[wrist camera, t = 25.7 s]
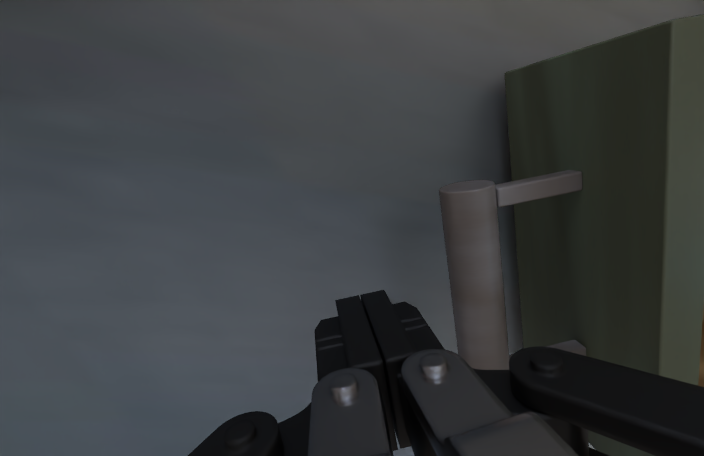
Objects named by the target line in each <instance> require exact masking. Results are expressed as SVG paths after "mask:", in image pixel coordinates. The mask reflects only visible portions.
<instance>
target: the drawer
mask: <svg viewBox="0 0 704 456" xmlns="http://www.w3.org/2000/svg"><path fill="white" fill-rule="evenodd" d="M505 88H506V102H507V117H508V131H509V146H510V160H511V175H512V182H507V183H502V184H497V185H495V183H494V182H493V181H489V180H472V181H463V182H457V183H452V184H449V185H446V186H443V187H441V188H440V189H439V196H440V205H441V213H442V221H443V230H444V238H445V247H446V255H447V263H448V272H449V280H450V289H451V297H452V305H453V314H454V322H455V331H456V339H457V347H458V355H460V356H461V357H462V358H463V359H464V360H465V361H466V362H467V363H468V364H469V366H470V367H471V368H474V369H480V370H509V360H510V358H511V356H512V355H513V354H512V355H509V350H508V337H507V325H506V313H505V300H504V288H503V275H502V263H501V251H500V238H499V226H498V213H497V207H504V206H509V205H514V218H515V232H516V247H517V261H518V276H519V290H520V305H521V319H522V334H523V348H528V347H535V346H544V347H552V348H557V349H561V350H565V351H569V352H572V353H576V354H580V355H584V356H588V357H591V358H595V359H599V360H603V361H606V362H610V363H614V364H618V365H622V366H625V367H629V368H633V369H637V370H641V371H644V372H648V373H652V374H656V375H660V376H663V377H667V378H671V379H675V380H679V381H682V382H686V383H690V384H694V385H698V386H701V387H704V14H702V15H696V16H690V17H685V18H679V19H673V20H669V21H666V22H663V23H660V24H657V25H654V26H651V27H647V28H644V29H641V30H638V31H635V32H632V33H628V34H625V35H622V36H619V37H616V38H613V39H609V40H606V41H603V42H600V43H597V44H594V45H590V46H587V47H584V48H581V49H578V50H575V51H571V52H568V53H565V54H562V55H559V56H556V57H552V58H549V59H546V60H543V61H540V62H537V63H533V64H530V65H527V66H524V67H521V68H518V69H515V70H511V71H508V72H506V73H505ZM588 438H589V443H590V444H591V445H592V446H593V447H594V448H595V449H596V450H597V451H599V452H602V453H604V454H606V455H609V456H655V455H652V454H650V453H647V452H644V451H642V450H639V449H636V448H634V447H631V446H629V445H626V444H623V443H621V442H618V441H616V440H613V439H610V438H608V437H605V436H603V435H600V434H597V433H595V432H592V431H589V430H588Z"/></svg>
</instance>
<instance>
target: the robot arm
mask: <svg viewBox="0 0 704 456" xmlns="http://www.w3.org/2000/svg"><path fill="white" fill-rule="evenodd" d="M360 296H361V300H360V297H359V295H358V296H353V297H348V298H344V299H339V300H335V301H336V306H337V311H338V316H337V317H333V318H328V319H324V320H321V321H320V323H319V324H318V326H317V327H316V329H315V342H316V343H315V344H316V359H317V374H318V383H317V384H316V385H315V387H314V389H313V392H312V401H311V403H310V404H309V405H308V406H307V407H306V408H305V409H304V410H302V411H301V412H300V413H298V414H296V415H295V416H293V417H291V418H289V419H287V420H285V421H283V422H281V423H279V424H278V423H277V420H276V419H275V418H274V417H273V416H272V415H271V414H268V413H266V412H259V411H255V412H248V413H244V414H241V415H238V416H236V417H233V418H232V419H230V420H228V421H226V422H225V423H223V424H222V425H221V426H220V427H218V428H217V429H216V430H215V431H214V432H213V433H212V434H211V435H210V436H208V437H207V438H206V439H205V440H204V441H203V442H202V443H201V444H200V445H199V446H198V447H197V448H195V449H194V450H193V451H192V452H191V453H190V454H189V455H188V456H393V451H394V450H398V448H397V442H396V436H397V439H398V442H399V445H400V448H405V447H409V446H412V449H413V452H414V455H415V456H609V455H606V454H604V453H602V452H599V451H597V450H594V449H592V448H589V438H588V430H589V431H592V432H595V433H597V434H600V435H603V436H605V437H608V438H610V439H613V440H616V441H618V442H621V443H623V444H626V445H629V446H631V447H634V448H636V449H639V450H642V451H644V452H647V453H650V454H652V455H655V456H704V387H701V386H698V385H694V384H690V383H686V382H682V381H679V380H675V379H671V378H667V377H663V376H660V375H656V374H652V373H648V372H644V371H641V370H637V369H633V368H629V367H625V366H622V365H618V364H614V363H610V362H606V361H603V360H599V359H595V358H591V357H588V356H584V355H580V354H576V353H572V352H569V351H565V350H561V349H557V348H552V347H544V346H535V347H528V348H524V349H521V350H519V351H517V352H515V353H514V354H513V355H512V356H511V358H510V360H509V370H480V369H474V368H471V367H470V366H469V364H468V363H467V362H466V361H465V360H464V359H463V358H462V357H461V356H460V355H458V354H456V353H454V352H452V351H448V350H445V349H444V348H443V346H442V345H441V343H440V342H439V340H438V339H437V337H436V336H435V335H434V333H433V332H432V330H431V329H430V327H429V326H428V324H427V323H426V321H425V320H424V318H423V317H422V315H421V314H420V312H419V311H418V309H417V308H416V307H414V306H412V305H410V304H408V303H406V302H401V303H396V304H391V302H390V300H389V298H388V296H387V294H386V292H385V291H384V290H381V291H376V292H371V293H367V294H362V295H360ZM394 429H395V430H394ZM395 433H396V436H395Z"/></svg>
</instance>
